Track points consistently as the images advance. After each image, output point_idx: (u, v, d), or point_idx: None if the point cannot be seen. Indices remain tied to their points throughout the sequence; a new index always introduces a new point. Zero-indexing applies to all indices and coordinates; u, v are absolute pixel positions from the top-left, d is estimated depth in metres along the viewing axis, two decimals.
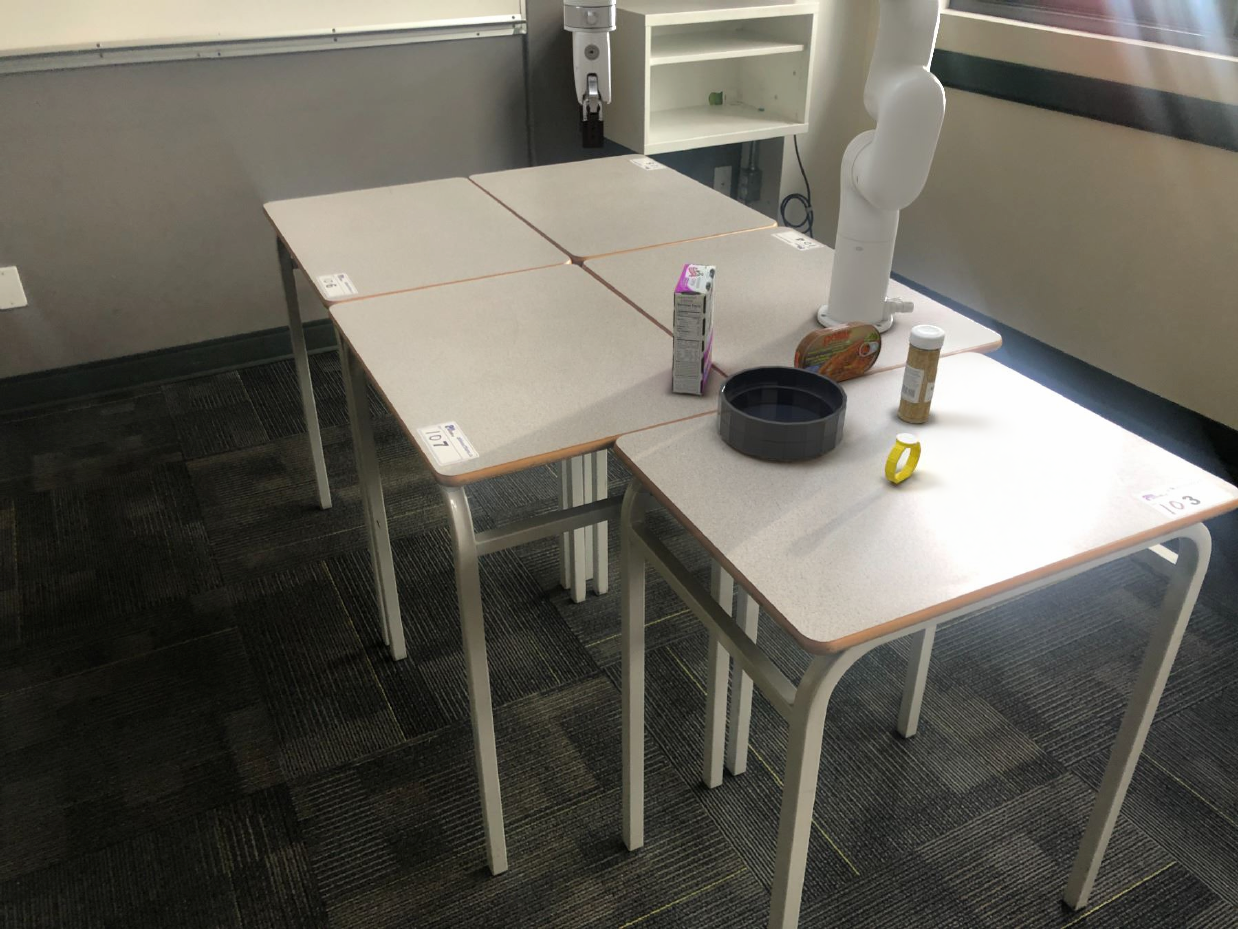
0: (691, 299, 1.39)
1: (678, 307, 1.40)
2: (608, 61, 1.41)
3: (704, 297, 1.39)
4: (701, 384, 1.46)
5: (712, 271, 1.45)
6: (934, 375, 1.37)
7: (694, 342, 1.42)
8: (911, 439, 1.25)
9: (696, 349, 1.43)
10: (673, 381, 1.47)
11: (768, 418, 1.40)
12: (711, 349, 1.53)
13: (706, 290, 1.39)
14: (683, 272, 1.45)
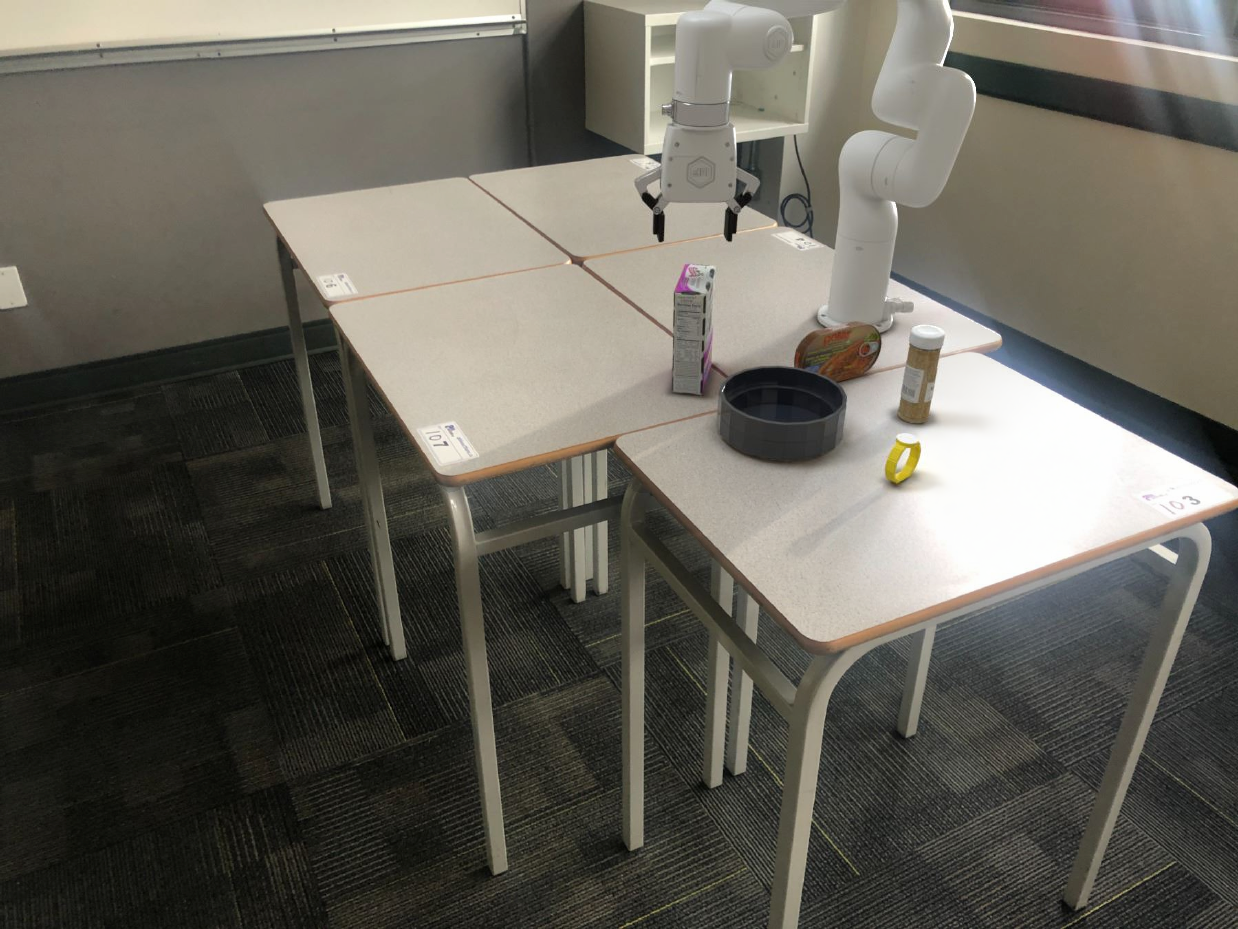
0: (691, 299, 1.39)
1: (678, 307, 1.40)
2: (667, 157, 1.32)
3: (704, 297, 1.39)
4: (701, 384, 1.46)
5: (712, 271, 1.45)
6: (934, 375, 1.37)
7: (694, 341, 1.42)
8: (911, 439, 1.25)
9: (696, 349, 1.43)
10: (673, 381, 1.47)
11: (768, 418, 1.40)
12: (711, 349, 1.53)
13: (706, 290, 1.39)
14: (683, 272, 1.45)
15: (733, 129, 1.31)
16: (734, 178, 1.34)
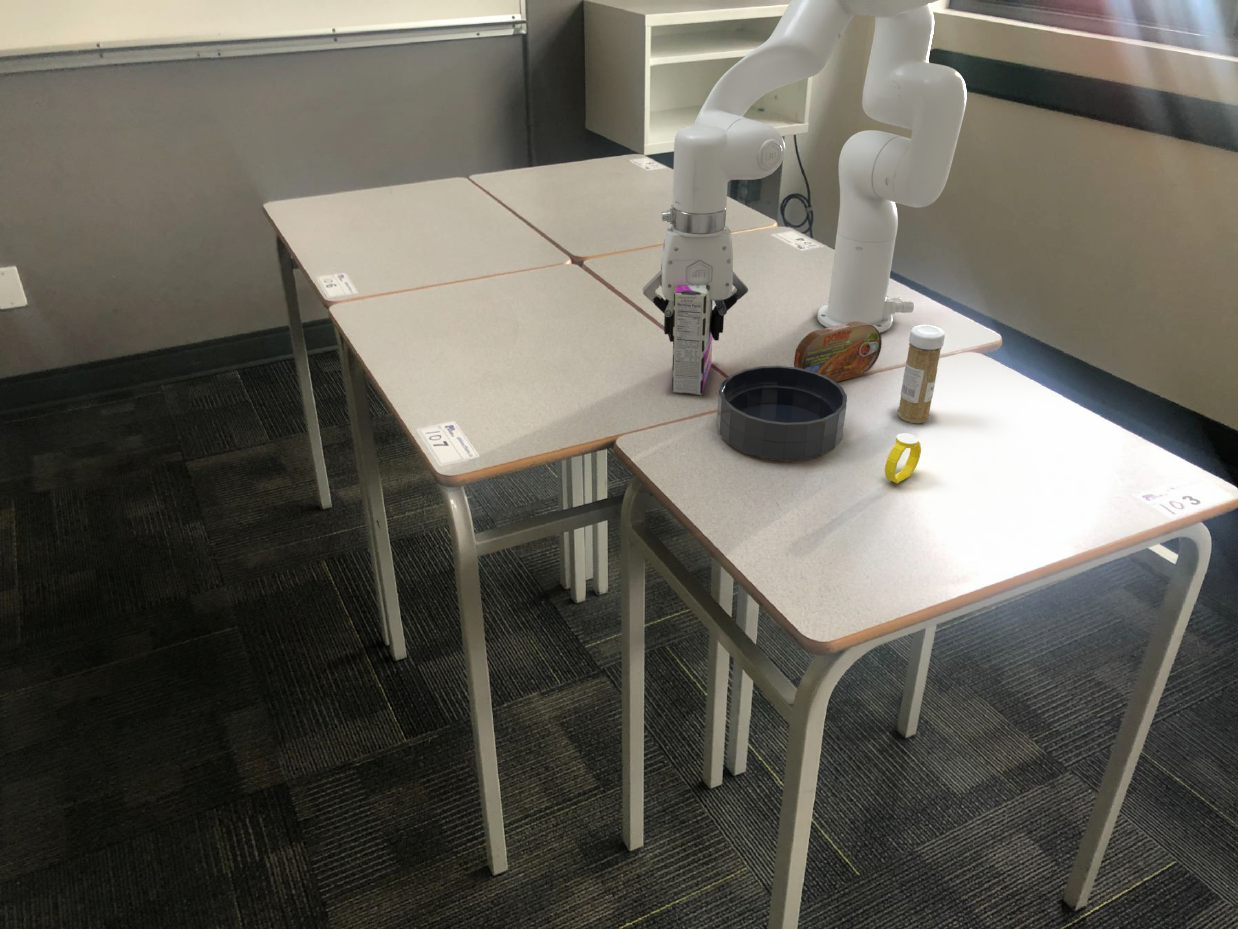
0: (691, 299, 1.39)
1: (678, 307, 1.40)
2: (667, 261, 1.39)
3: (704, 297, 1.39)
4: (701, 384, 1.46)
5: None
6: (934, 375, 1.37)
7: (694, 342, 1.42)
8: (911, 439, 1.25)
9: (696, 349, 1.43)
10: (673, 381, 1.47)
11: (768, 418, 1.40)
12: (711, 349, 1.53)
13: (706, 290, 1.39)
14: None
15: (729, 234, 1.38)
16: (731, 278, 1.41)
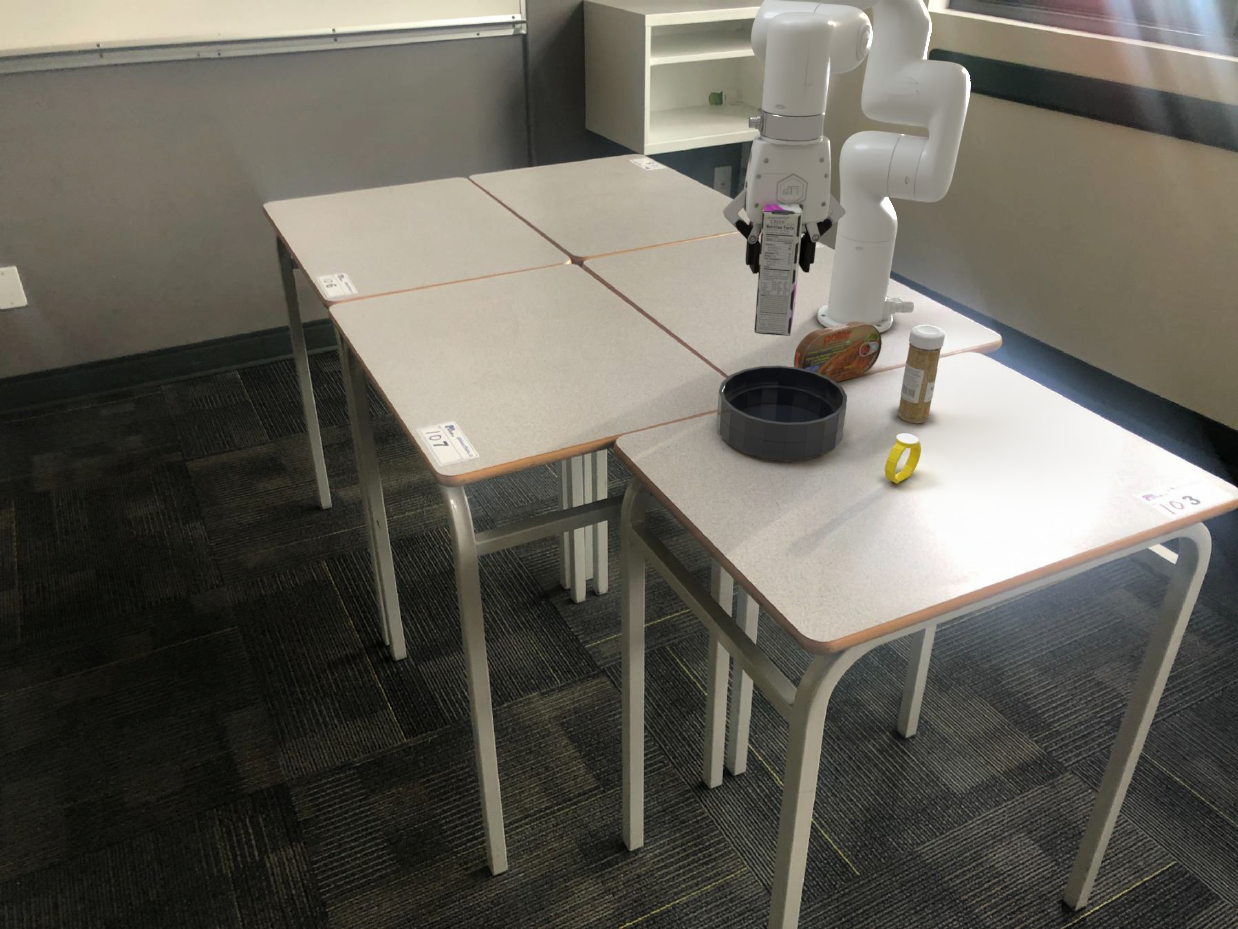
0: (783, 220, 1.19)
1: (767, 230, 1.20)
2: (754, 175, 1.19)
3: (799, 217, 1.19)
4: (789, 322, 1.26)
5: None
6: (934, 375, 1.37)
7: (784, 271, 1.22)
8: (911, 439, 1.25)
9: (786, 280, 1.23)
10: (756, 319, 1.27)
11: (768, 418, 1.40)
12: None
13: (800, 209, 1.19)
14: None
15: (828, 143, 1.18)
16: (828, 197, 1.21)
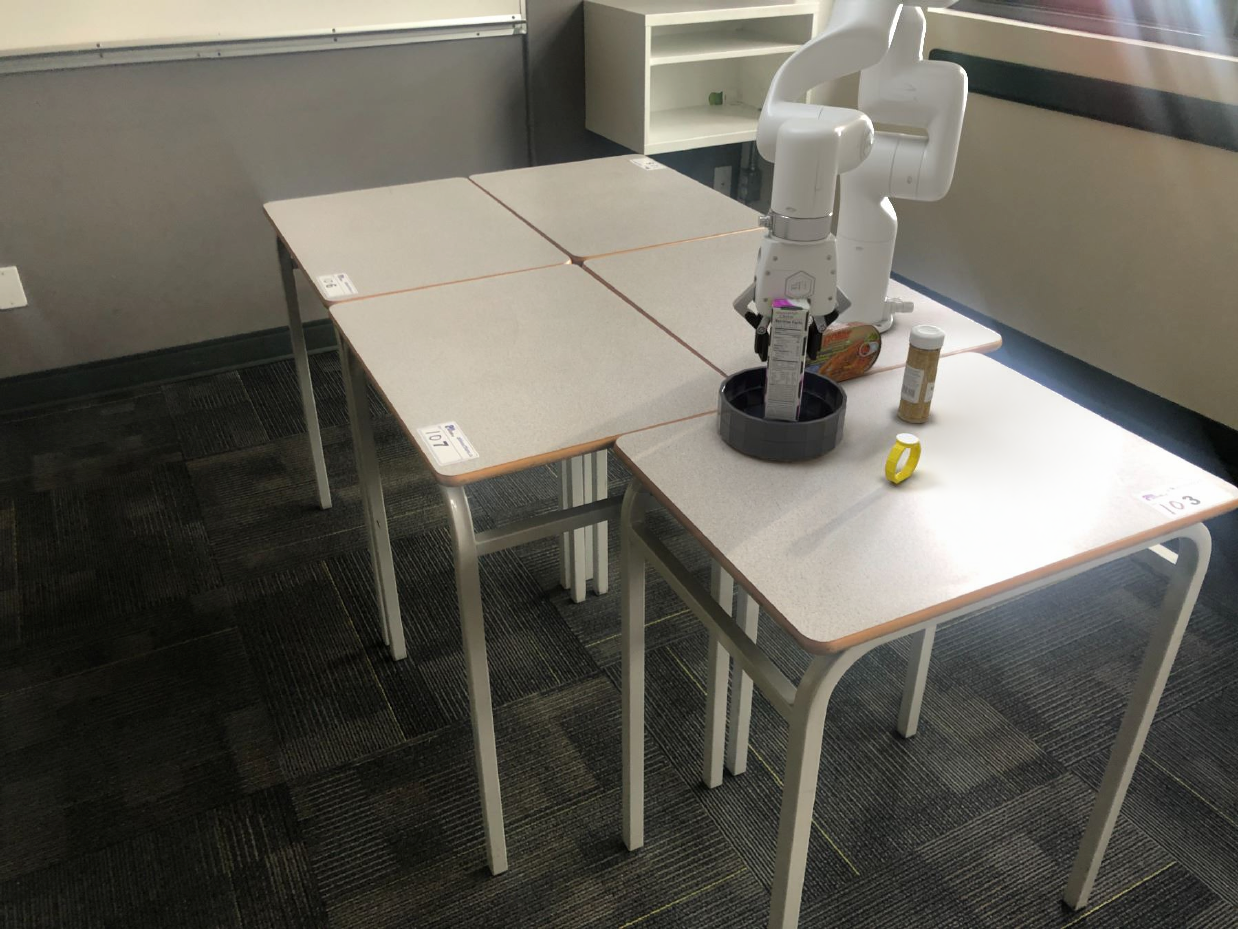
0: (791, 315, 1.23)
1: (776, 324, 1.24)
2: (764, 271, 1.23)
3: (807, 313, 1.22)
4: (797, 410, 1.30)
5: None
6: (934, 375, 1.37)
7: (792, 363, 1.26)
8: (911, 439, 1.25)
9: (794, 370, 1.27)
10: (765, 406, 1.30)
11: None
12: None
13: (808, 305, 1.23)
14: None
15: (835, 241, 1.22)
16: (834, 291, 1.25)
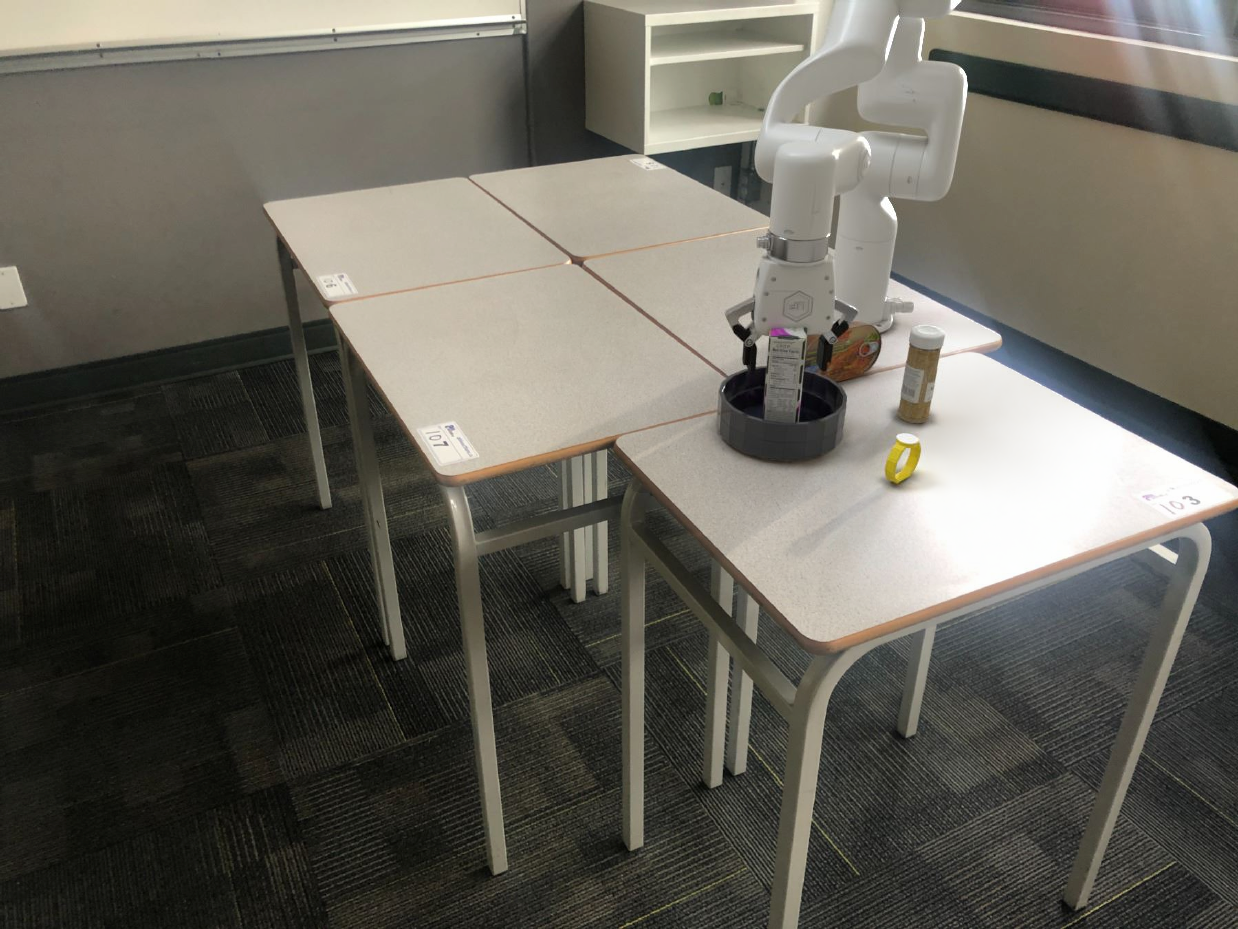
0: (788, 344, 1.25)
1: (773, 353, 1.26)
2: (762, 292, 1.24)
3: (803, 342, 1.25)
4: None
5: None
6: (934, 375, 1.37)
7: (789, 390, 1.28)
8: (911, 439, 1.25)
9: (791, 398, 1.29)
10: None
11: None
12: None
13: (805, 334, 1.25)
14: None
15: (833, 262, 1.24)
16: (832, 311, 1.26)
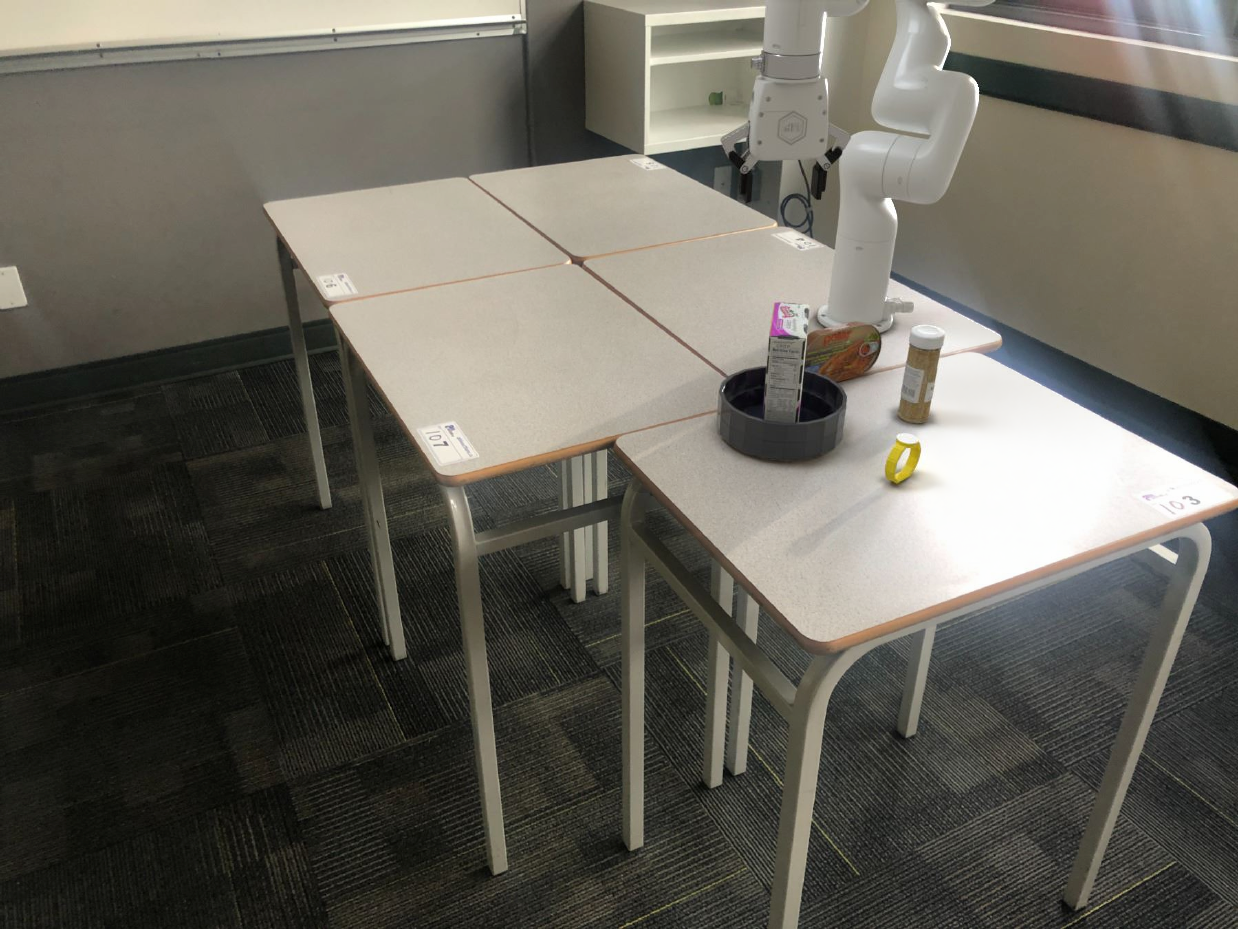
0: (788, 344, 1.25)
1: (773, 353, 1.26)
2: (757, 113, 1.27)
3: (803, 342, 1.25)
4: None
5: (806, 310, 1.31)
6: (934, 375, 1.37)
7: (789, 390, 1.28)
8: (911, 439, 1.25)
9: (791, 398, 1.29)
10: None
11: None
12: None
13: (805, 334, 1.25)
14: (775, 312, 1.31)
15: (826, 81, 1.26)
16: (826, 133, 1.29)
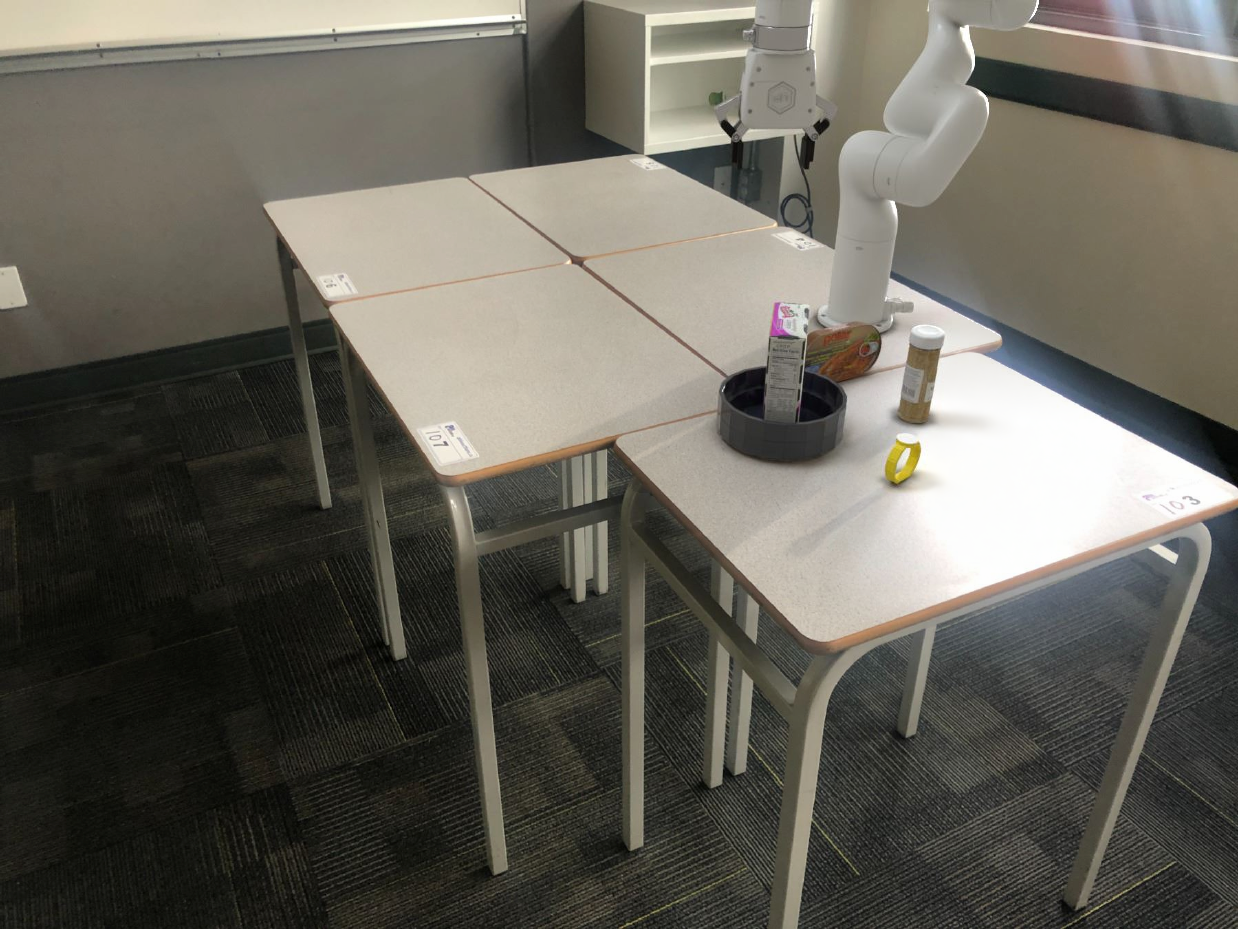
0: (788, 344, 1.25)
1: (773, 353, 1.26)
2: (748, 83, 1.33)
3: (803, 342, 1.25)
4: None
5: (806, 310, 1.31)
6: (934, 375, 1.37)
7: (789, 390, 1.28)
8: (911, 439, 1.25)
9: (791, 398, 1.29)
10: None
11: None
12: None
13: (805, 334, 1.25)
14: (775, 312, 1.31)
15: (814, 54, 1.32)
16: (814, 103, 1.35)
